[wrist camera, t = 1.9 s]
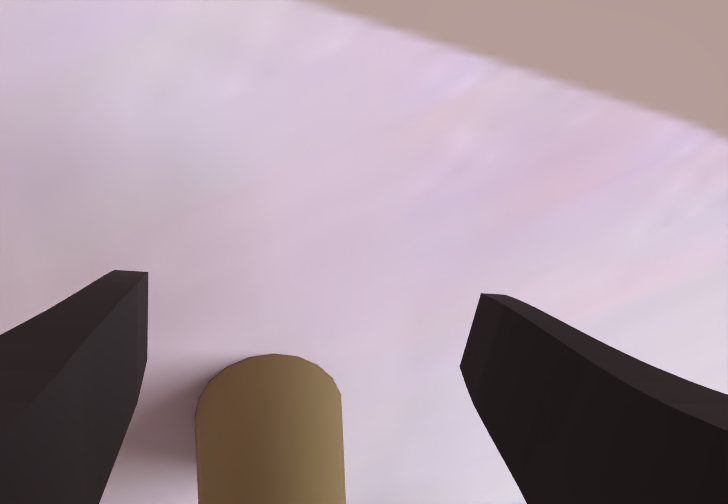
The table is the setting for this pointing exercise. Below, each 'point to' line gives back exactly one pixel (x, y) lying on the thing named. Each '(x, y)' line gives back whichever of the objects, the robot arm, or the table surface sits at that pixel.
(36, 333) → the robot arm
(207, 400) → the cork
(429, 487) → the table surface
